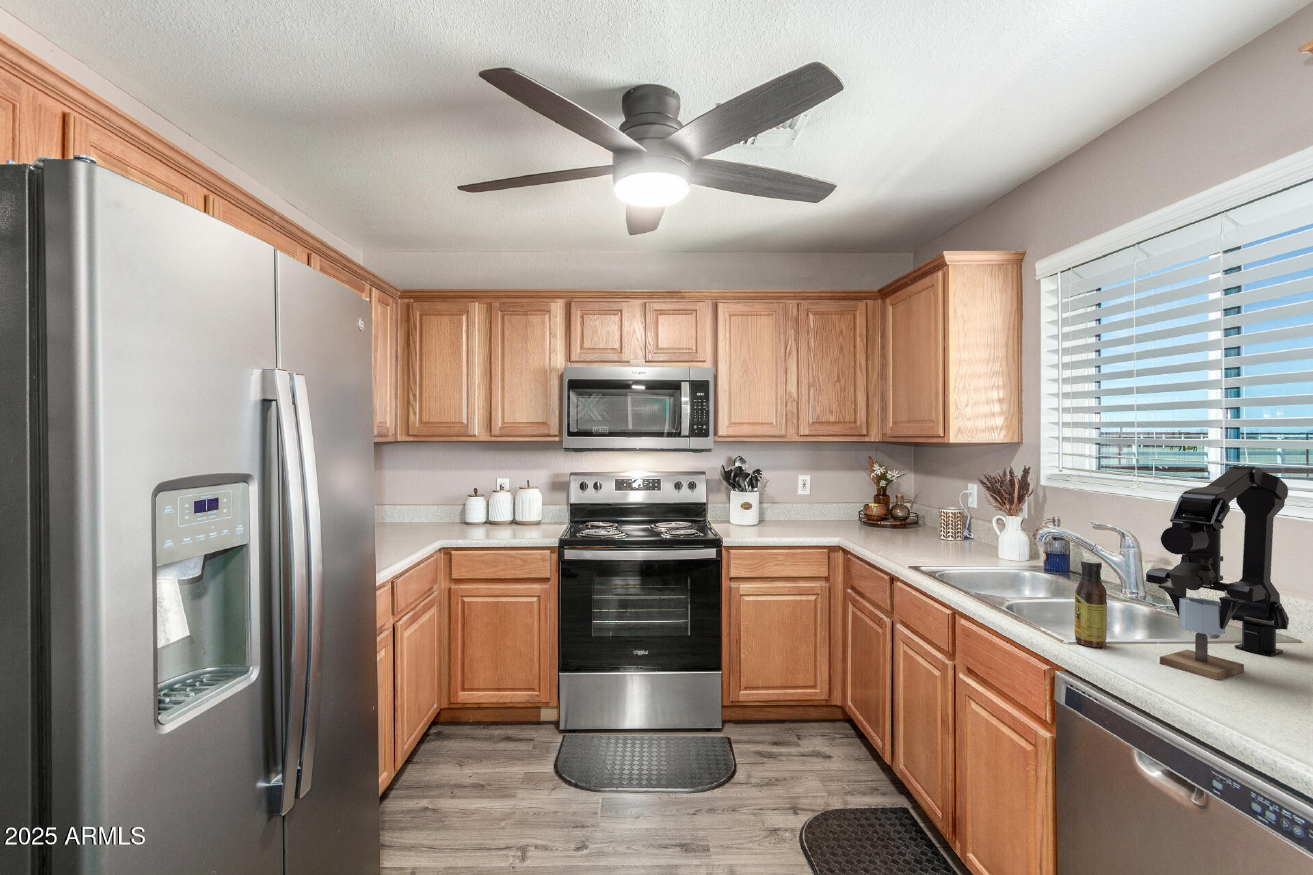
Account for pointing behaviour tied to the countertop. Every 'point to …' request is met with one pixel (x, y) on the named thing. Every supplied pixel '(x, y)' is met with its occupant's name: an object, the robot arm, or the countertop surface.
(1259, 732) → the countertop surface
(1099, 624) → the sauce bottle
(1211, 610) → the blue roll
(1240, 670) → the roll holder
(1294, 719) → the countertop surface
